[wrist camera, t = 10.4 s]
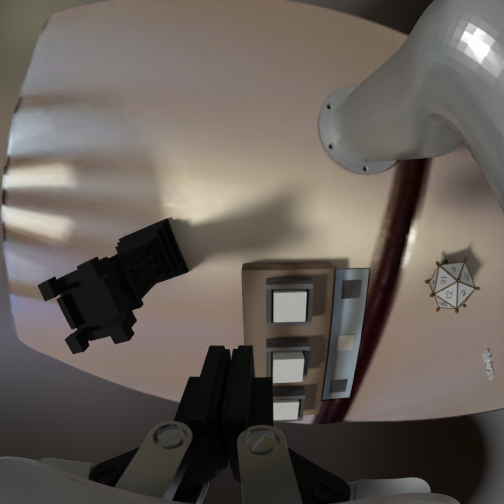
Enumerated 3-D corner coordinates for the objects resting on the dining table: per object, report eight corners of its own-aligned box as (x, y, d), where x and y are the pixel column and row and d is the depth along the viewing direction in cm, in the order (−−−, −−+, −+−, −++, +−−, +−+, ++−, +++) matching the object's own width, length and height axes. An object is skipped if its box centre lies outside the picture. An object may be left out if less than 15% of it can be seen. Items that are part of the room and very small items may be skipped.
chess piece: (142, 287, 42) (72, 358, 23) (121, 238, 41) (33, 282, 21) (188, 270, 42) (135, 343, 22) (167, 218, 40) (91, 254, 20)
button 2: (304, 285, 38) (306, 292, 36) (302, 313, 39) (305, 321, 37) (273, 286, 38) (273, 293, 36) (272, 314, 39) (273, 322, 37)
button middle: (302, 349, 39) (304, 358, 37) (300, 371, 40) (302, 381, 38) (273, 350, 39) (273, 359, 37) (272, 372, 40) (273, 383, 38)
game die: (436, 263, 44) (487, 268, 36) (427, 311, 43) (479, 320, 35) (419, 247, 39) (480, 251, 31) (409, 303, 38) (470, 314, 30)
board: (368, 261, 40) (382, 273, 35) (348, 399, 47) (355, 419, 41) (242, 263, 41) (240, 276, 36) (248, 405, 47) (246, 426, 42)
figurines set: (493, 373, 47) (499, 380, 44) (484, 381, 47) (490, 388, 44) (486, 345, 44) (493, 352, 42) (477, 355, 45) (484, 361, 42)
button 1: (297, 392, 42) (299, 401, 40) (296, 409, 43) (297, 419, 41) (272, 393, 42) (272, 402, 40) (271, 410, 43) (271, 420, 41)
